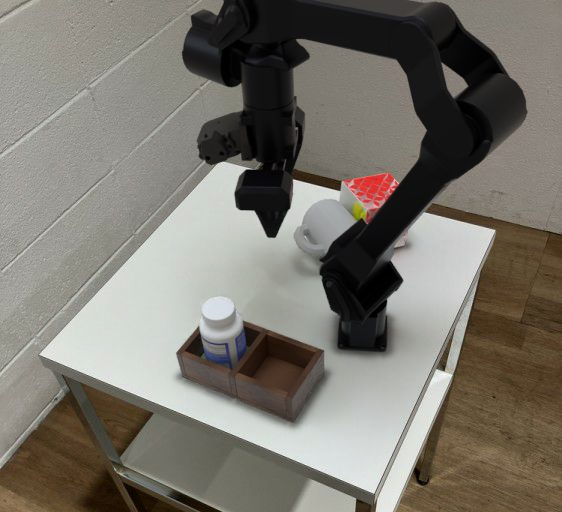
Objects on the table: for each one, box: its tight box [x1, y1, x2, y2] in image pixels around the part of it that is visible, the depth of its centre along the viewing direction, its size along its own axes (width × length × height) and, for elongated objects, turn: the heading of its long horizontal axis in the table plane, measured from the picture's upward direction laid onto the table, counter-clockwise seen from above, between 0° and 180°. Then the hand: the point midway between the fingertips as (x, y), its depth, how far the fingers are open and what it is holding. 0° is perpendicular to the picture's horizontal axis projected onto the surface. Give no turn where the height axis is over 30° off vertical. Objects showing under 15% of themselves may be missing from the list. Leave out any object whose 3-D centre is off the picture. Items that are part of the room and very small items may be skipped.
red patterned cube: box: [338, 172, 409, 249], centre depth 95 cm, size 8×8×8 cm
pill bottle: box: [198, 296, 247, 370], centre depth 79 cm, size 5×5×10 cm
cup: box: [292, 198, 357, 258], centre depth 93 cm, size 7×10×9 cm
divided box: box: [175, 319, 325, 423], centre depth 80 cm, size 16×9×5 cm, turn 61°
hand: (276, 214), depth 82 cm, fingers open, 9 cm apart
